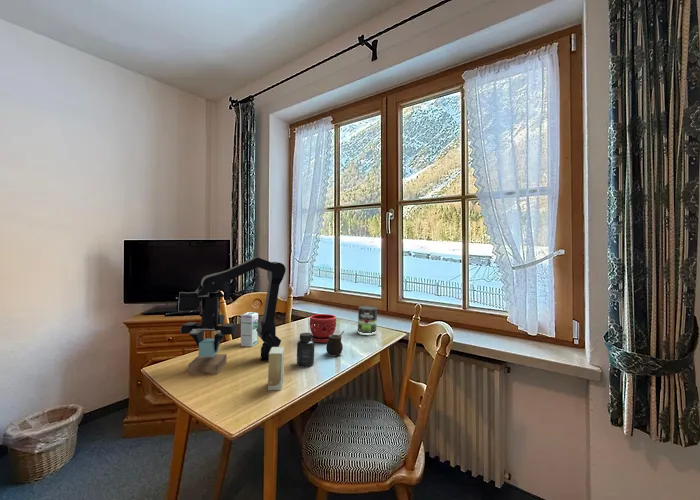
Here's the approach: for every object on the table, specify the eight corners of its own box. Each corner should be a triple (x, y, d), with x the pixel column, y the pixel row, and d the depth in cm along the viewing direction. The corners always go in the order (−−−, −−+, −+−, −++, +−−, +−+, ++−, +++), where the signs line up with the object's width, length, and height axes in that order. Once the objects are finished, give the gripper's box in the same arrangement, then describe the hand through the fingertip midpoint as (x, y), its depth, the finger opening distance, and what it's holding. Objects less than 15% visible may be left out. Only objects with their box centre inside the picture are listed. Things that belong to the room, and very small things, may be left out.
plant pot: (340, 339, 153) (341, 315, 153) (324, 346, 142) (325, 320, 142) (320, 334, 160) (320, 311, 160) (303, 340, 149) (304, 316, 149)
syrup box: (251, 347, 137) (252, 315, 137) (240, 345, 139) (240, 314, 138) (258, 343, 143) (259, 312, 143) (246, 342, 144) (247, 311, 144)
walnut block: (226, 364, 118) (226, 354, 118) (217, 375, 108) (217, 364, 108) (199, 364, 117) (200, 354, 117) (188, 375, 107) (188, 364, 107)
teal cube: (218, 351, 115) (218, 338, 115) (212, 356, 110) (212, 343, 110) (205, 351, 115) (205, 338, 115) (198, 356, 110) (198, 342, 110)
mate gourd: (323, 352, 133) (324, 330, 133) (338, 350, 137) (339, 328, 137) (329, 358, 127) (330, 334, 127) (345, 356, 130) (346, 332, 130)
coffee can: (375, 336, 159) (376, 310, 159) (356, 335, 161) (357, 308, 161) (377, 331, 169) (378, 306, 169) (358, 329, 171) (359, 305, 171)
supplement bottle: (316, 362, 122) (317, 332, 122) (309, 369, 116) (310, 337, 115) (301, 359, 124) (302, 330, 124) (293, 366, 118) (294, 335, 118)
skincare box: (270, 381, 104) (271, 346, 104) (283, 381, 104) (284, 346, 104) (267, 390, 98) (268, 353, 97) (281, 390, 98) (282, 353, 98)
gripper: (242, 305, 121) (241, 344, 121) (195, 304, 121) (194, 343, 121) (231, 312, 109) (230, 355, 110) (179, 310, 109) (179, 353, 110)
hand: (208, 351), depth 113 cm, fingers closed on teal cube, 5 cm apart
